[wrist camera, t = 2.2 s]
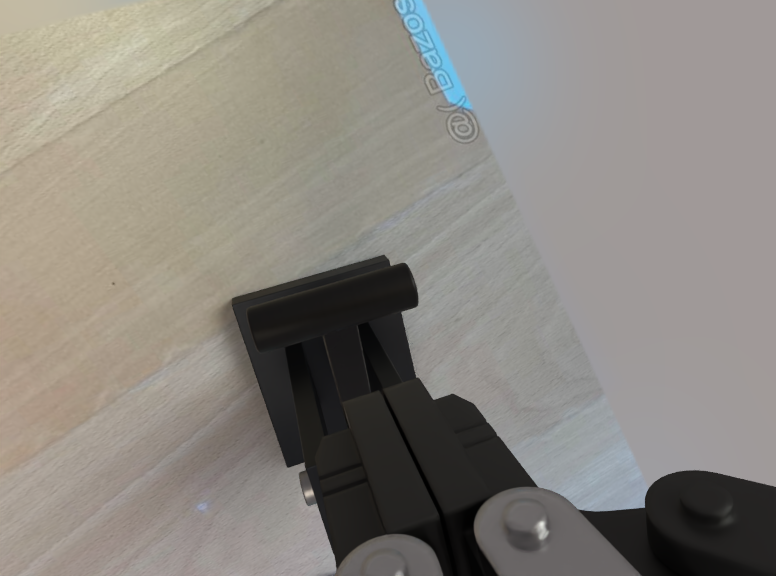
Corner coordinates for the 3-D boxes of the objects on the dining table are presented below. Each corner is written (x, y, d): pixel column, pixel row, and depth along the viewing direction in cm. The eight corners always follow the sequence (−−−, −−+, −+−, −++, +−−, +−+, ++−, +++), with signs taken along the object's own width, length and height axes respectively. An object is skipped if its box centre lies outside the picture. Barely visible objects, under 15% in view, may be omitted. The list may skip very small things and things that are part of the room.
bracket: (231, 297, 32) (225, 412, 20) (384, 254, 33) (462, 337, 21) (286, 457, 36) (307, 631, 24) (420, 412, 37) (504, 556, 25)
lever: (240, 288, 17) (251, 345, 16) (397, 243, 18) (423, 293, 16) (314, 475, 26) (327, 525, 24) (418, 440, 27) (437, 486, 25)
